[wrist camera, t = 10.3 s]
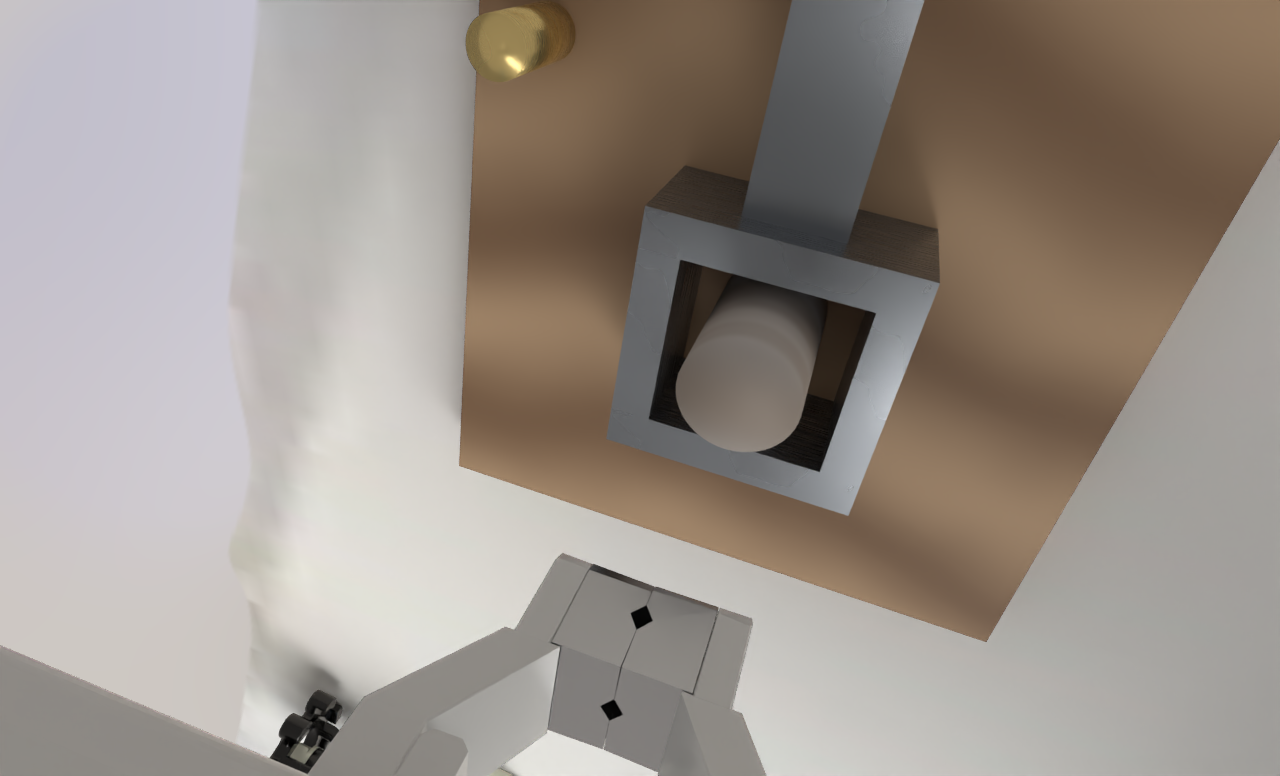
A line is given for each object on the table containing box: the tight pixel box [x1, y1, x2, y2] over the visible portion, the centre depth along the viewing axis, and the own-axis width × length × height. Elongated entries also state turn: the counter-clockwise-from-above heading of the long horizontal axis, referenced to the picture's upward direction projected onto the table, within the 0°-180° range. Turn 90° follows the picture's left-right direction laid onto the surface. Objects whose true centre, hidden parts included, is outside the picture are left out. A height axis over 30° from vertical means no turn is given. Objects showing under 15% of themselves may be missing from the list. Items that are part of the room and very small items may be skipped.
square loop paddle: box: [606, 0, 940, 516], centre depth 18 cm, size 13×6×4 cm, turn 171°
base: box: [459, 0, 1280, 642], centre depth 20 cm, size 18×18×6 cm
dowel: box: [466, 1, 576, 82], centre depth 19 cm, size 1×1×4 cm
